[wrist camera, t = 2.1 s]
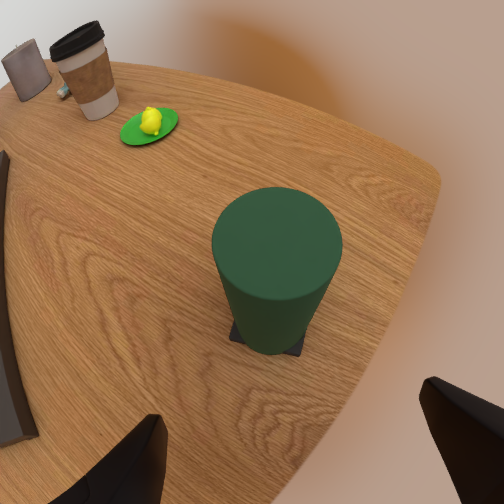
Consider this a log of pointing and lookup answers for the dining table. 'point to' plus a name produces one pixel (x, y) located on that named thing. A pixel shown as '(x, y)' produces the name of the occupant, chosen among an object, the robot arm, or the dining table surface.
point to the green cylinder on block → (275, 265)
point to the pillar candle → (26, 70)
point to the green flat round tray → (148, 126)
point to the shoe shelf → (10, 354)
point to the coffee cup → (87, 70)
